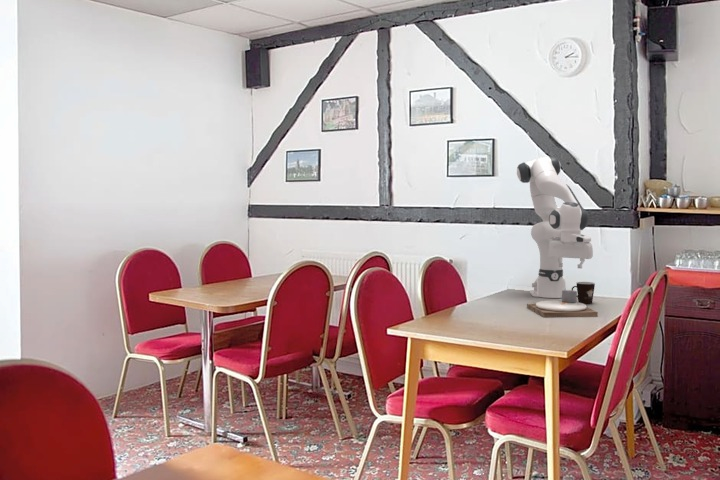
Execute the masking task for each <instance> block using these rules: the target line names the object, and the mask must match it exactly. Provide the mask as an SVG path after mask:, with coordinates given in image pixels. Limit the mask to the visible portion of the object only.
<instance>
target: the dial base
mask: <svg viewBox="0 0 720 480" xmlns="http://www.w3.org/2000/svg"><path fill="white" fill-rule="evenodd" d="M526 309H527V310H530V311H531V312H533V313H536V314H537V315H539V316H540V317H543V318H584V317H585V318H589V317H593V318H594V317H595V318H596V317H598V316H599V314H598V313H599V312H598V311H596V310H593V309H592V308H590V307H587V309H585V310H582V311H552V310H545V309H540V308H538V307H536V303H532V302H531V303H526Z"/></svg>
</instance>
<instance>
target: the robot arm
mask: <svg viewBox="0 0 720 480" xmlns="http://www.w3.org/2000/svg"><path fill="white" fill-rule="evenodd" d="M561 166H562V165H561V162H560V160H559V158H558V157H557V156H555V155H548V156H545V157H539V158H538V157H537V158H535V159H531V160H529V161H528V160H527V161H526V162H522V163H519V164H518V166H517V168H516V175H517V178H518V180H519V181H520V182H521V183H523V184H528V183H529V191H530V196H531V200H532V206H533V208H534V211H535V214H536V215H537V216H538V217H540V219H541V220H542V221H540V222H538V223H535V224H533V226H532V227H531V230H530V235H531V236H530V237H532V240H534V242H536V243H535V244H536V245H537V247H538V251H539V269H538V277H537V278H536V279H535V281H534V282H532V283H531V287H532V288H533V290H529V294H530V295H531V296H532V297H537V298H544V299H545V298H546V299H562V291H564V290H567V289H566V279H564V278H563V276H564V269H563V265H564V264H563V258H567V259H579V264H577V269H583V264H584V263H585V261H586V260H591V259H592V258H593V256H594V251H593V250H594V249H593V244H592V243H591V242H592V238H591V237H590V236H587V235H585V234H582V233H581V231H583V230H584V229H586V228H587V226H589V223H590V216H589V213H588V212H587V211H586V209H585V208H584V207H583V206H582V204H581V202H579V200H578V198H577V196H576V195H575V193H574V192H573V190H572V188H571V187H570V186H569V185H568V184H567V183H566V182H564V181H563V180H562V179H561V178H560V176H559V174H560V173H561V168H562V167H561ZM555 198H557V199H559V200H561V201H563V203H562V204H561V206H559V207H558V206H557V202H556V199H555Z"/></svg>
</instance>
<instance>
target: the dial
mask: <svg viewBox="0 0 720 480" xmlns="http://www.w3.org/2000/svg"><path fill="white" fill-rule="evenodd" d="M577 296H578V294H577V290H573V291H572V289H571V290H570V289H569V290H567V289H566V290H564V291H562V298H561V300H541V301H537V302H536V303H535V304H536V307H538V308H540V309H545V310H552V311H582V310H585V309H587V308H588V306H587V305H588V304H583V303H579V302H578V297H577Z"/></svg>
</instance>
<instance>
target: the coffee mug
mask: <svg viewBox="0 0 720 480" xmlns="http://www.w3.org/2000/svg"><path fill="white" fill-rule="evenodd" d="M595 285H596V282H592V281H576V285H574V286H572V287H571V291H574V289H575V288H576V291H577V302H579V303H583V304H585V305H592V304H593V302H594V301H593V300H594V292H595Z"/></svg>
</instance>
